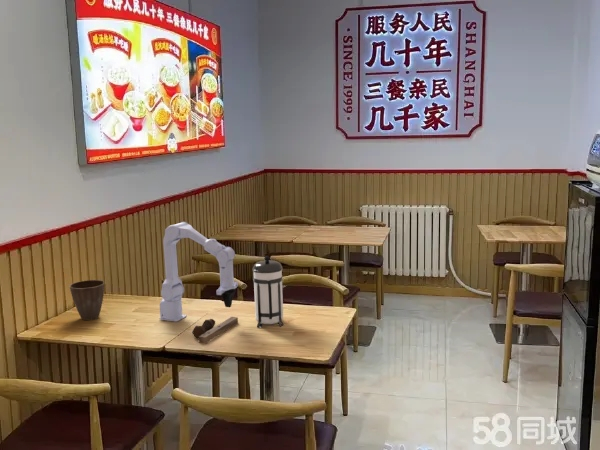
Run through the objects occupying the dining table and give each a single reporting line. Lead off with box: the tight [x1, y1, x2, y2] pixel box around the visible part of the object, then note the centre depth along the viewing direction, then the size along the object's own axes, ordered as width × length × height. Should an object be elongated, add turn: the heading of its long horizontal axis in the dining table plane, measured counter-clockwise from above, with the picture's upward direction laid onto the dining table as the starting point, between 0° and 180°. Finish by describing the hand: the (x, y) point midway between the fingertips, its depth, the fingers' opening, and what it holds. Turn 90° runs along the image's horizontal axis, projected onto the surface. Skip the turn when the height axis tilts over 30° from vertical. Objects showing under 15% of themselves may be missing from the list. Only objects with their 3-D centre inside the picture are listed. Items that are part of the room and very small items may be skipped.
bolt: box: [191, 318, 216, 339], centre depth 245 cm, size 6×5×15 cm
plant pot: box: [69, 279, 105, 321], centre depth 267 cm, size 15×15×16 cm
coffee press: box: [252, 255, 285, 329], centre depth 250 cm, size 17×16×30 cm
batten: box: [198, 316, 239, 344], centre depth 244 cm, size 3×26×3 cm, turn 157°
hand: (228, 306), depth 251 cm, fingers closed
